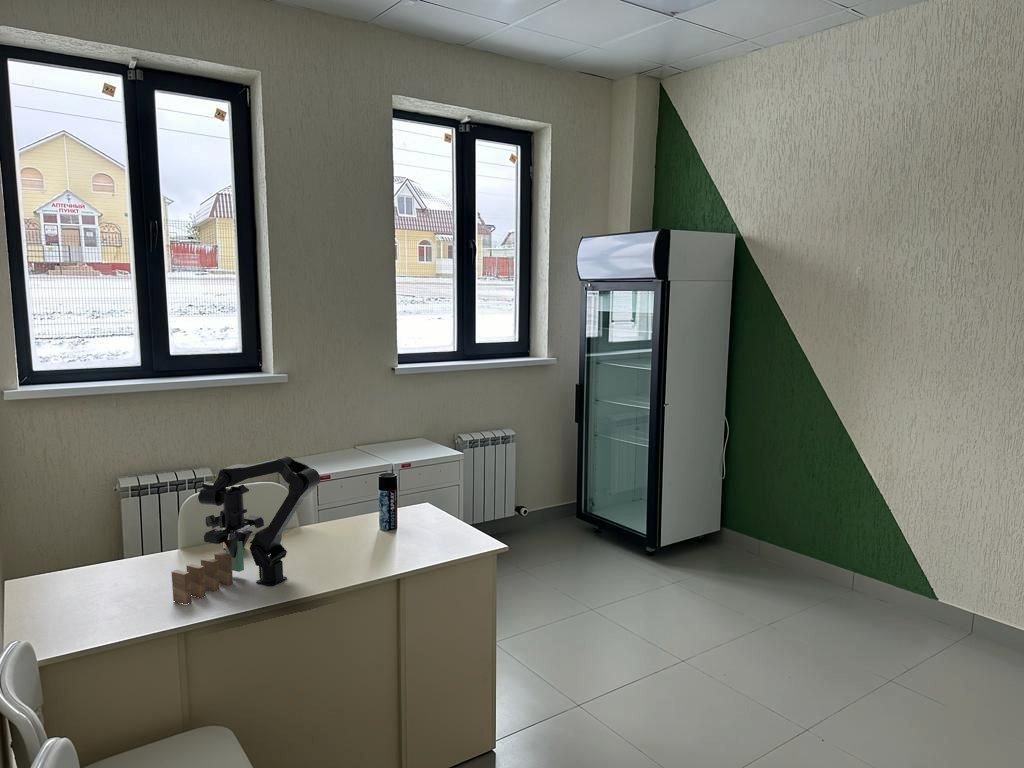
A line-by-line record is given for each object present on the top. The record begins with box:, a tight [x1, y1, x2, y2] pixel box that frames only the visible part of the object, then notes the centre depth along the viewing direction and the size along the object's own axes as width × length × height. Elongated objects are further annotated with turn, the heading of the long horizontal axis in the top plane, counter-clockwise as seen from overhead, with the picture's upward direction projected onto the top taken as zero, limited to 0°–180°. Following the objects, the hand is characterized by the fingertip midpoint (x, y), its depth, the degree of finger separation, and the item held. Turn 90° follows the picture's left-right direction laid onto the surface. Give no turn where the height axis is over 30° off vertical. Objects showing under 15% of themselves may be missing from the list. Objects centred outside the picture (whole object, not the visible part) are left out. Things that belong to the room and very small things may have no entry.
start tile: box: [225, 541, 245, 573], centre depth 215 cm, size 2×5×9 cm, turn 65°
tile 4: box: [186, 563, 207, 599], centre depth 202 cm, size 2×5×9 cm, turn 65°
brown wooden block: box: [171, 569, 192, 604], centre depth 197 cm, size 2×5×9 cm, turn 65°
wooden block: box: [213, 551, 234, 586], centre depth 211 cm, size 2×5×9 cm, turn 65°
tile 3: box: [200, 557, 221, 593], centre depth 206 cm, size 2×5×9 cm, turn 65°
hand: (236, 556), depth 215 cm, fingers closed on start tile, 2 cm apart
